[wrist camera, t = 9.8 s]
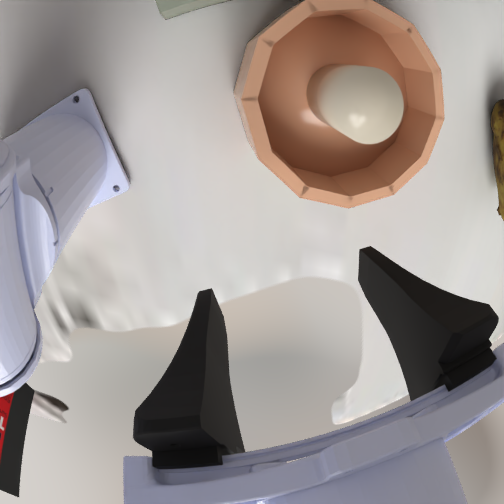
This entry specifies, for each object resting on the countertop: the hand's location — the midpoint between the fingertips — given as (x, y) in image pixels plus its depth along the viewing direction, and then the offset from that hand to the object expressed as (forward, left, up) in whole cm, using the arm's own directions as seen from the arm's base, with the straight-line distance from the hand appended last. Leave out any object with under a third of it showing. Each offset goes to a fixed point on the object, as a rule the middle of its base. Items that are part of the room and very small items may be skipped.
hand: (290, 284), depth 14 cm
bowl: (+7, +6, -9) cm, 13 cm away
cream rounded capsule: (+7, +6, -9) cm, 13 cm away
